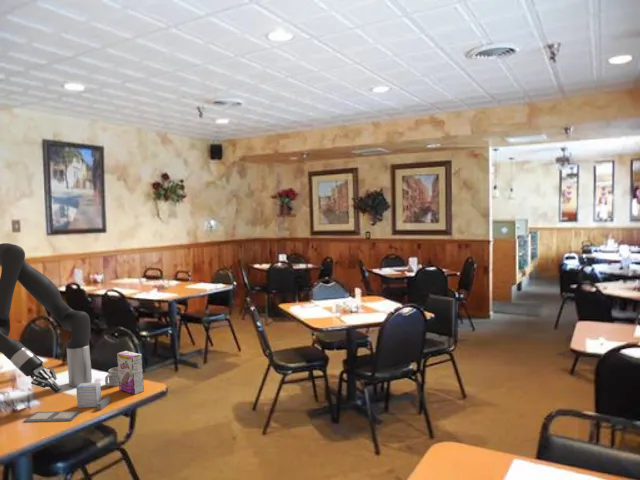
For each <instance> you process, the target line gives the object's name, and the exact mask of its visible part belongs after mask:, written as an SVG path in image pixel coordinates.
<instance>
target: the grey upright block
mask: <svg viewBox="0 0 640 480" xmlns="http://www.w3.org/2000/svg"><path fill="white" fill-rule="evenodd" d="M101 386H102V385H101V382H91V383H81V384H80V385H79V386H77V387H75V389H76V401H77V403H76V404H77V408H78V409H81V408H97V403H99V402H100V401H101V400H102V399H103V398H102V387H101Z"/></svg>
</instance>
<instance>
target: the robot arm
mask: <svg viewBox="0 0 640 480" xmlns="http://www.w3.org/2000/svg"><path fill="white" fill-rule="evenodd" d="M25 259H26V253H25V250H24V248H22V247H21V246H19V245H17V244H13V243H9V242H8V243H7V242H5V243H0V267H1V271H0V272H1V273H0V353H1V354H2V355H4V357H5V358H6V359H8V361H10V362H11V363H12V364H13V366H14V367H15V368H17V370H19V371H20V372H21V373H22V374H24V376H25V377H30V378H31V379H32V380H31V382H30V384H31V385H34V386H37V387H40V388H42V389H43V388H44V389H45V388H49V389H51V391H53V392H54V393H56V394H57V393H59V392H60V391H61V390H62V386H60V384H58V383H57V382H56V380H57V379H58V378H57V375H56V372H55V369H54V368H50V369H48V368H47V367H46V366H44V361H43V360H42V359H40V358H39V357H38V356H37V355H36V354H35V353H34V352H33V351H31V350H30V349H29V348H27V347H26V346H25V345H24V344H22V342H20V341H19V340H18V339H16V338H10V337H9V336H10V332H11V320H10V313H11V308H12V307H11V306H12V304H13V303H12V302H13V297H14V292H15V289H16V285H17V282H18V283H19V284H20V285H21V286H22V287H23V288H24V290H26V291H27V292H28V293H29V295H30V296H32V298H34V299H35V301H37V302H38V303H39V304H41V306H42V307H44V309H46V310H47V311H48V312H49V313H50V314H51V315H52V316H53V317H54V318H55V320H56V321H57V323H59V325H60V326H61V327H62V328H63V329H64V330H66V331H68V332H71V337H70V339H68V340H66V343H65V346H66V347H65V348H66V358H67V360H66V362H67V374H68V386H69V387H73V388H76V387H77V386H79V385H80V384H81V383H93V382H92V380H93V379H92V378H93V377H92V376H93V375H92V362H91V353H90V352H91V351H90V340H91V318H90V316H89V314H88V313H87V312H85V311H83V310H74V308H73V309H72V308H71V307H70V306H69V305H68V304H67V303H66V302H65V301H64V300H63V298H62V294H61V291H60V290H59V288H58V287H57V286H56V284H55V283H54V282H53V281H52V280H51V279H50V278H49V277H47V276H46V275H45V274H44V273H42V272H41V271H39V269H38V270H37V269H36V268H35V267H33V266H32V265H31V264H30V263H28V262H27V261H26V260H25Z"/></svg>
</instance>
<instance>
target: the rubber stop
mask: <svg viewBox="0 0 640 480" xmlns="http://www.w3.org/2000/svg"><path fill="white" fill-rule="evenodd" d="M110 403H111V396H110V395H105V397H103V398H102V400H101V401H100V402H99V403H97V407H96V409H97V411H103V410H104V408H106V407H107V406H108V405H109V404H110Z"/></svg>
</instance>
